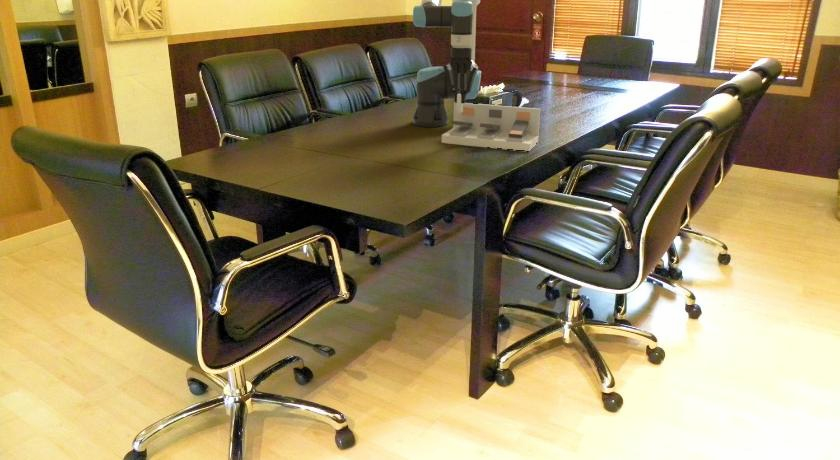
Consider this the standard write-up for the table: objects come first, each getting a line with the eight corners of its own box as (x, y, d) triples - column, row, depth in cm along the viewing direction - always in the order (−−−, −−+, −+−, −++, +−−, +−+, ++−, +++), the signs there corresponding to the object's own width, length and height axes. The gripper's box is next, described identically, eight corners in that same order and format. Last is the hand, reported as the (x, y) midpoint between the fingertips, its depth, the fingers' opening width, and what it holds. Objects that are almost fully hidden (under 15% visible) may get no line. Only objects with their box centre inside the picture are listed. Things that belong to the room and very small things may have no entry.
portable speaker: (478, 115, 290) (479, 92, 287) (468, 110, 299) (468, 89, 295) (525, 110, 300) (526, 88, 296) (513, 106, 309) (514, 85, 305)
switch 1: (452, 124, 242) (452, 120, 242) (460, 125, 251) (460, 121, 251) (464, 125, 240) (464, 121, 240) (472, 126, 249) (472, 122, 249)
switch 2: (479, 126, 238) (480, 122, 238) (487, 127, 247) (487, 124, 247) (492, 127, 236) (493, 124, 236) (499, 129, 246) (500, 125, 245)
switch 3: (508, 136, 236) (508, 133, 235) (515, 122, 243) (515, 119, 242) (522, 137, 234) (521, 134, 233) (528, 123, 241) (528, 120, 240)
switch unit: (441, 142, 245) (442, 108, 240) (453, 134, 257) (454, 102, 252) (529, 151, 233) (531, 116, 228) (538, 142, 245) (540, 108, 240)
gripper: (440, 46, 231) (440, 112, 239) (475, 48, 226) (473, 115, 235) (447, 44, 237) (446, 108, 246) (481, 46, 232) (479, 111, 241)
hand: (459, 111), depth 240 cm, fingers closed
